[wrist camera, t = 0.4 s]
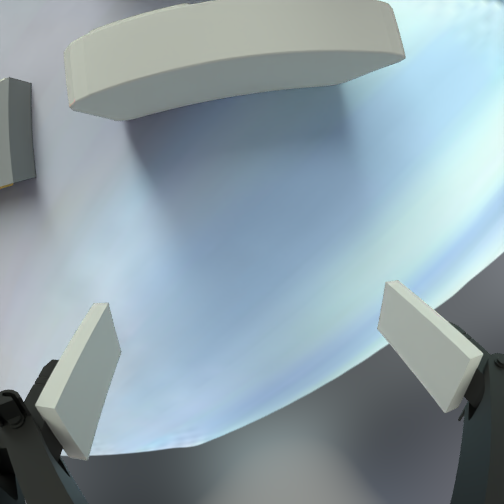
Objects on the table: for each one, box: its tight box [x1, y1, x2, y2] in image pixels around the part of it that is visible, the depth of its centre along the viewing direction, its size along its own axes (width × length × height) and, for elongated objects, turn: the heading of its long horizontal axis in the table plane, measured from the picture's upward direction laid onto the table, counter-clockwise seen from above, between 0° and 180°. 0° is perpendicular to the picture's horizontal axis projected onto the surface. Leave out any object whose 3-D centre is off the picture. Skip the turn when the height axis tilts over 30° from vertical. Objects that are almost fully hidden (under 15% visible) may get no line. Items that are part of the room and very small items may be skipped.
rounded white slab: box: [64, 0, 406, 121], centre depth 25 cm, size 29×8×18 cm, turn 100°
